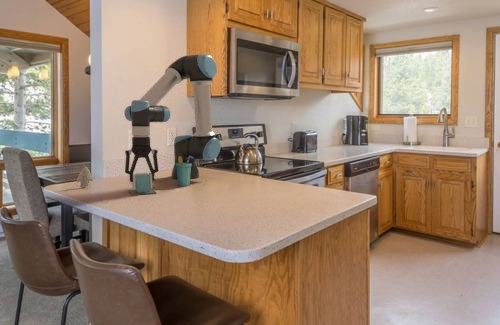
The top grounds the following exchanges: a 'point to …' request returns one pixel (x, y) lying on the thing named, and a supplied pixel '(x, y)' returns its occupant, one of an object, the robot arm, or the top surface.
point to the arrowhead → (84, 177)
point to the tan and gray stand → (142, 192)
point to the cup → (183, 171)
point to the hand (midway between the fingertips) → (142, 188)
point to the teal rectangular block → (142, 182)
